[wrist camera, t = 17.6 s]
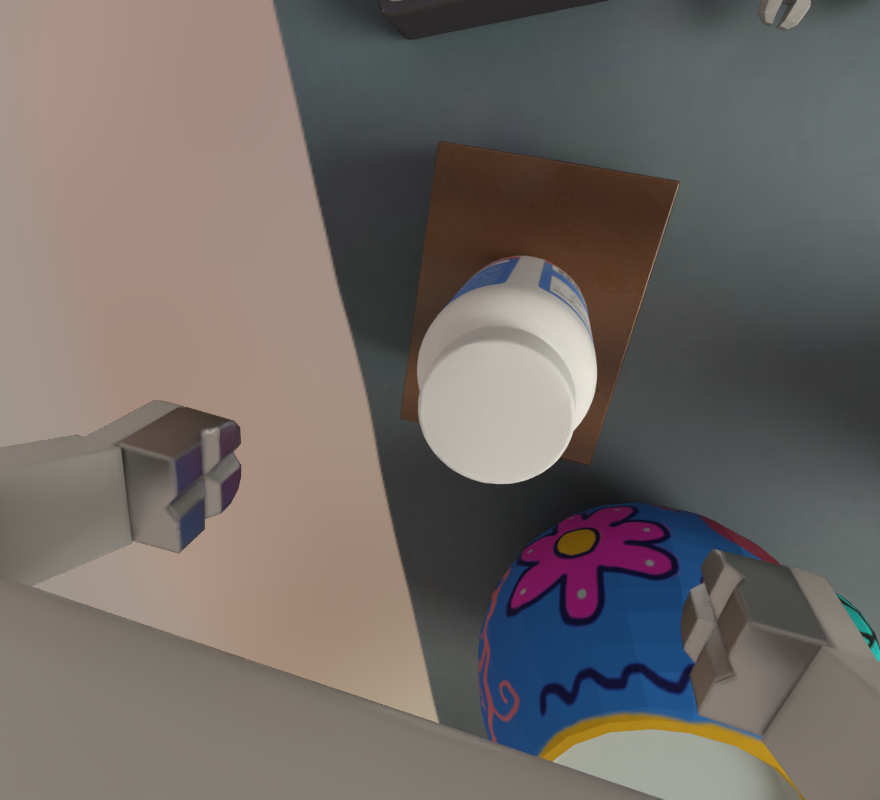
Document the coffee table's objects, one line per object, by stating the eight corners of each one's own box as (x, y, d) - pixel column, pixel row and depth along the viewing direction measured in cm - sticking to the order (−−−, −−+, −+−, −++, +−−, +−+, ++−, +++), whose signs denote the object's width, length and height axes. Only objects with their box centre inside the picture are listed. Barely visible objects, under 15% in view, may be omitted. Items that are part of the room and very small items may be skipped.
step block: (473, 150, 27) (438, 140, 20) (651, 180, 26) (681, 181, 19) (437, 365, 32) (399, 418, 25) (585, 399, 31) (589, 466, 24)
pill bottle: (450, 369, 24) (378, 484, 15) (464, 245, 21) (390, 293, 13) (575, 391, 23) (577, 527, 14) (603, 264, 20) (627, 329, 12)
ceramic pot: (770, 683, 36) (892, 991, 22) (506, 658, 40) (474, 902, 27) (803, 452, 29) (1002, 685, 16) (486, 452, 34) (430, 635, 20)
